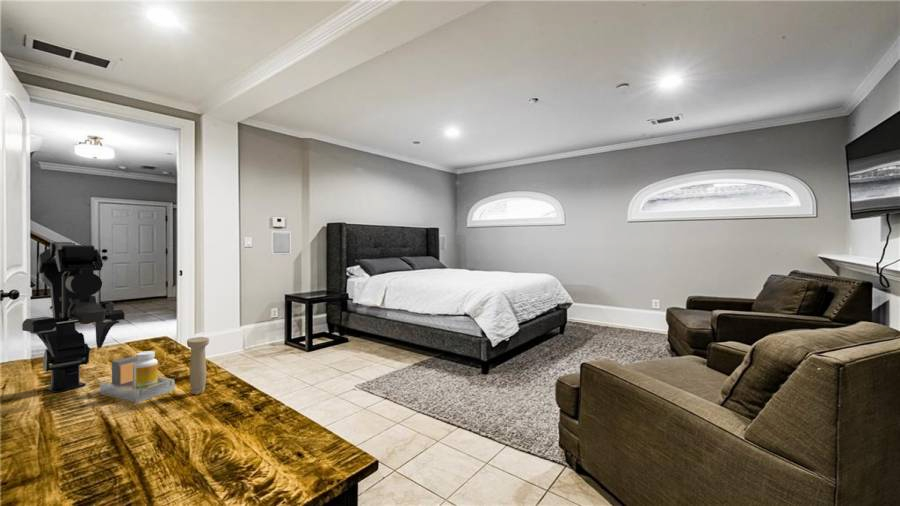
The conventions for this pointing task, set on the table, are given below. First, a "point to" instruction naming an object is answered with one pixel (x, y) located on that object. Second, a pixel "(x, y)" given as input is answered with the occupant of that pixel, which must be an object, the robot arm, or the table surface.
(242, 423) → the table surface
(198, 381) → the handle
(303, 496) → the table surface
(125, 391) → the grey tray
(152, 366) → the supplement bottle
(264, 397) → the table surface
